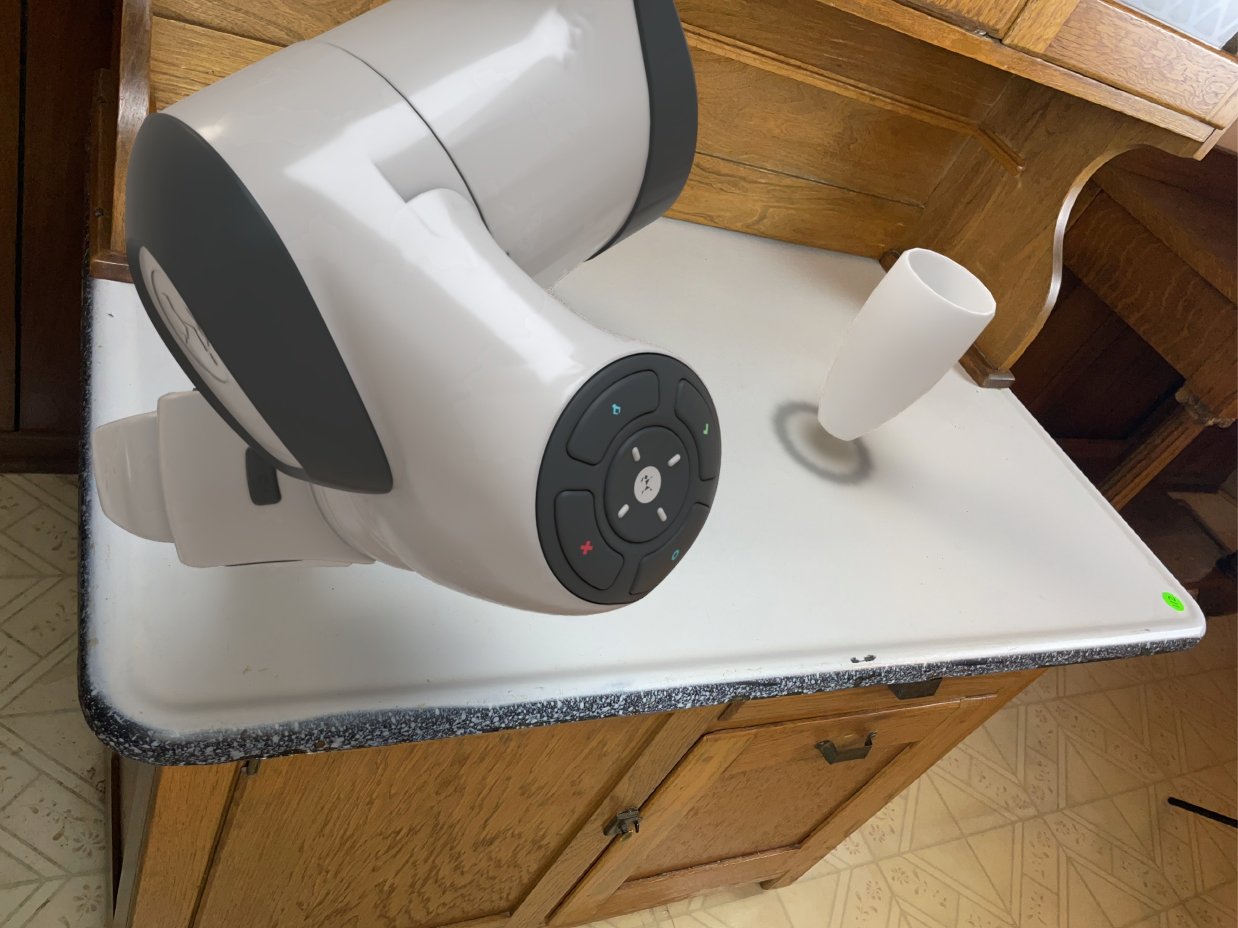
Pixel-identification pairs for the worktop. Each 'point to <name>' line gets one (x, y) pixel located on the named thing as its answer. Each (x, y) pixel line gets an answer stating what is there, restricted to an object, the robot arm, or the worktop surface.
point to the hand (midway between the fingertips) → (297, 440)
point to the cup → (903, 342)
